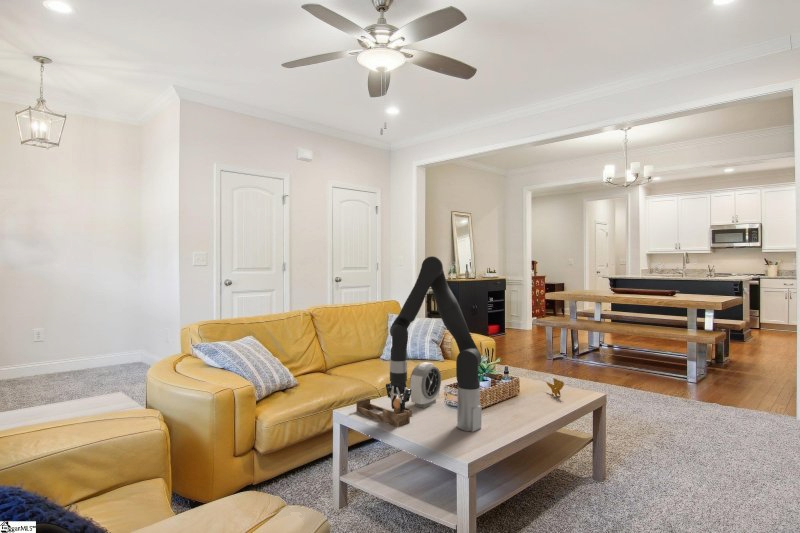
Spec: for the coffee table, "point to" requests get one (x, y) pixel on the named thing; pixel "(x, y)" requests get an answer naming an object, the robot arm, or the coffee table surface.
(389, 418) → the lane
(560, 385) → the toy
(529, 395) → the coffee table surface
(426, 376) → the alarm clock
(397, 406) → the ball
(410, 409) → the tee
